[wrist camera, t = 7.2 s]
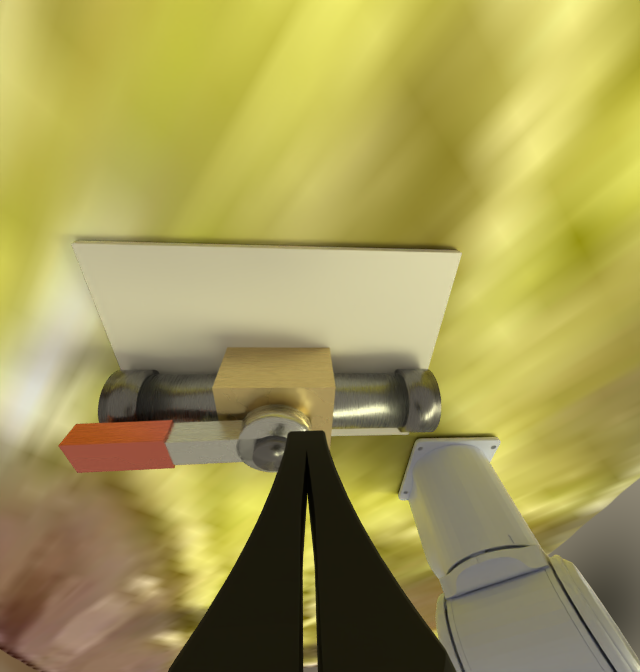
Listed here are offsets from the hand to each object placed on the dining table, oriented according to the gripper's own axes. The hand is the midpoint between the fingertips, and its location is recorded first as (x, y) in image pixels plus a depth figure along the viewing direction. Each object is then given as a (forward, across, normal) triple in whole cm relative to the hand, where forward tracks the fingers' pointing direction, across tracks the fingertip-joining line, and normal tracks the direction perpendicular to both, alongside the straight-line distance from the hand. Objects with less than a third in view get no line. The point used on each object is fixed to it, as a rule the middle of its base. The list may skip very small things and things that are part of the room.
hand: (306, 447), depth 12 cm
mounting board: (+10, +2, +3) cm, 11 cm away
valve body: (+10, +2, +5) cm, 11 cm away
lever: (+5, +7, +5) cm, 10 cm away
